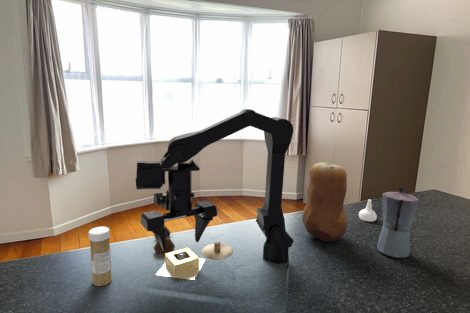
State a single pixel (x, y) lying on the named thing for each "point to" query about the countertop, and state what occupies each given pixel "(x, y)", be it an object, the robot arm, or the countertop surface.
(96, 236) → the sprinkles bottle
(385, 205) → the moka pot
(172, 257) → the brass square sleeve
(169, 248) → the bolt
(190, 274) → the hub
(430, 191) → the countertop surface
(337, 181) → the butternut squash
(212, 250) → the stand
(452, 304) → the countertop surface
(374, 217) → the garlic bulb
